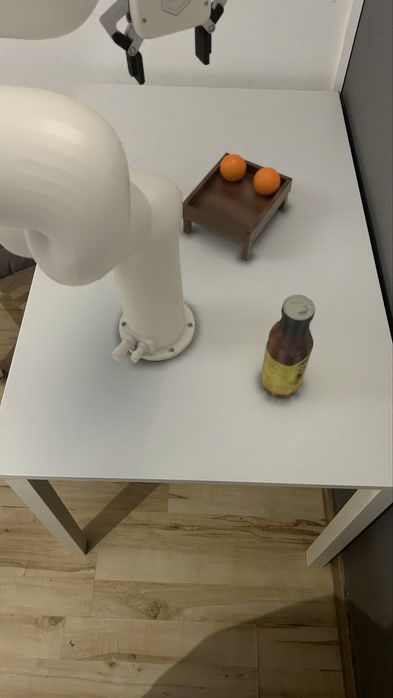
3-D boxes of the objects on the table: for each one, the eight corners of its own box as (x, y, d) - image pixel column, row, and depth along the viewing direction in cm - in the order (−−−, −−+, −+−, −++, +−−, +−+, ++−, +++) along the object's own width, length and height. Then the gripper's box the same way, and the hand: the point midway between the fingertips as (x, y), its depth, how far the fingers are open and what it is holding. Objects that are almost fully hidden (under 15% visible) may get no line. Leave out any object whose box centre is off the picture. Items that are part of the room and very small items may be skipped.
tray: (247, 262, 90) (249, 235, 84) (182, 232, 94) (180, 205, 88) (287, 206, 97) (292, 178, 91) (225, 181, 101) (226, 152, 94)
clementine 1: (237, 190, 92) (238, 169, 88) (215, 181, 94) (215, 160, 89) (250, 174, 94) (251, 153, 90) (228, 166, 95) (228, 144, 91)
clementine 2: (270, 204, 90) (273, 184, 86) (247, 195, 92) (249, 174, 87) (283, 188, 92) (286, 167, 88) (260, 179, 93) (262, 158, 89)
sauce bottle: (297, 403, 76) (322, 336, 59) (257, 396, 77) (270, 328, 60) (302, 365, 80) (327, 292, 62) (263, 359, 80) (277, 284, 63)
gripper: (97, -58, 50) (122, 102, 65) (247, -93, 54) (239, 66, 68) (72, -84, 54) (102, 73, 68) (215, -115, 57) (214, 40, 72)
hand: (170, 69), depth 68 cm, fingers open, 9 cm apart
